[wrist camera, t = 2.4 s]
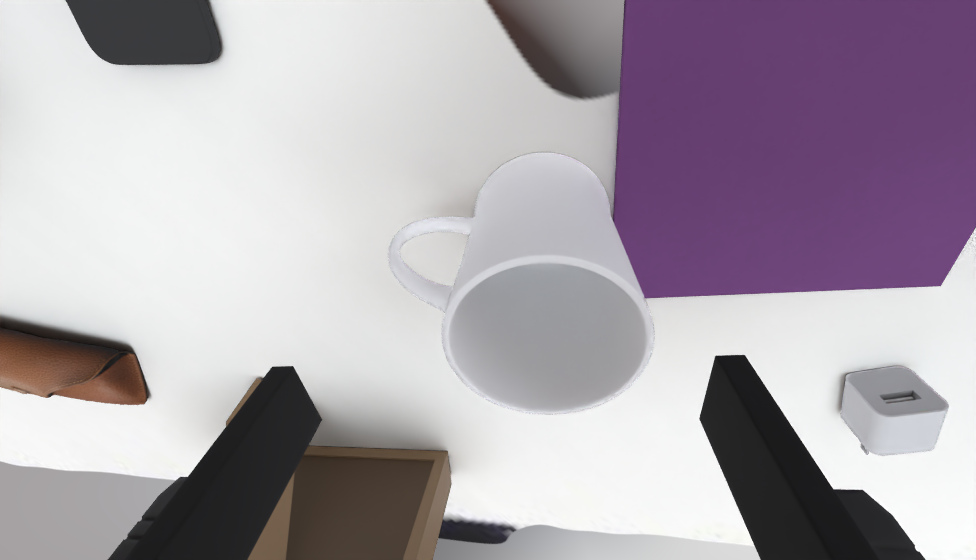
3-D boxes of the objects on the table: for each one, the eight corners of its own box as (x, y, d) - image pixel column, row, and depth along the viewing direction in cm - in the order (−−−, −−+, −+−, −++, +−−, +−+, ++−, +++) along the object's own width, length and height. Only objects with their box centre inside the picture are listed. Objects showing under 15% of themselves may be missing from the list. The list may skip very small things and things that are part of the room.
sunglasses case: (-25, 370, 39) (-129, 392, 33) (-14, 302, 39) (-117, 311, 32) (152, 406, 40) (85, 435, 33) (164, 339, 39) (99, 355, 33)
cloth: (1206, -182, 14) (1223, -187, 14) (935, 282, 25) (940, 286, 24) (628, -77, 17) (630, -79, 17) (609, 296, 28) (609, 299, 27)
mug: (414, 239, 27) (342, 366, 17) (442, 112, 22) (365, 182, 12) (575, 290, 27) (598, 439, 17) (634, 178, 23) (712, 294, 13)
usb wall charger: (905, 364, 28) (955, 409, 25) (891, 423, 31) (933, 470, 28) (840, 374, 29) (880, 418, 26) (833, 430, 33) (867, 476, 29)
